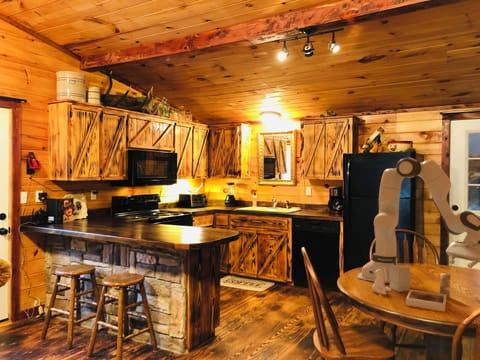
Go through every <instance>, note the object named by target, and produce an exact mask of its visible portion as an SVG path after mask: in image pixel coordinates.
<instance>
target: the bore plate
mask: <svg viewBox="0 0 480 360" xmlns="http://www.w3.org/2000/svg"><path fill="white" fill-rule="evenodd" d="M411 299H418V300H424V301H431V302H437V303H443V296H437V295H430V294H423V293H416V292H413V293H412V295H411Z"/></svg>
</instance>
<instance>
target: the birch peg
mask: <svg viewBox="0 0 480 360" xmlns="http://www.w3.org/2000/svg"><path fill="white" fill-rule="evenodd" d="M439 294H445V295H446V300H449V299H451V274H450V273H445V272H443V273H442V272H441V273H439Z"/></svg>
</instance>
